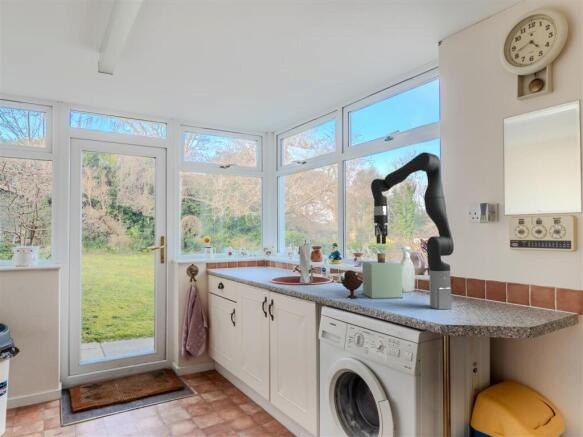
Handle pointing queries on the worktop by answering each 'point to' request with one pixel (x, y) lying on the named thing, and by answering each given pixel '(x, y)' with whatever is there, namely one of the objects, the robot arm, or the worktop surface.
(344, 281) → the ice cream bowl
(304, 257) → the white pillar candle
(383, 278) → the cover
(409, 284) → the soap bottle
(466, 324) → the worktop surface
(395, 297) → the mat
